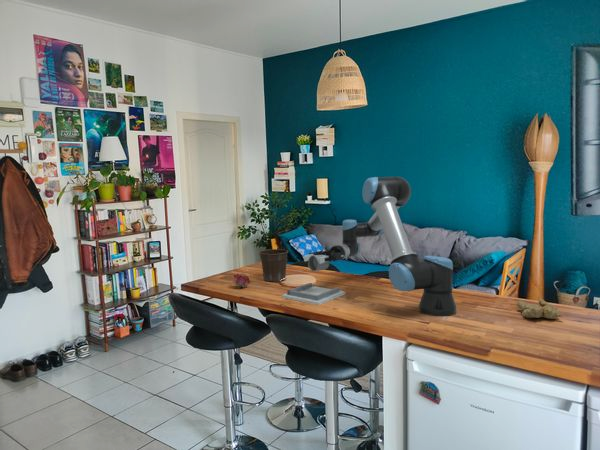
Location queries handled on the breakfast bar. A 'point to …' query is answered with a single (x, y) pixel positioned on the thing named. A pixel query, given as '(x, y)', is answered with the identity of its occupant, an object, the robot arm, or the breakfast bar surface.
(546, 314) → the ginger root
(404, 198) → the robot arm
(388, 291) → the breakfast bar surface
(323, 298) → the tray
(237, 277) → the flower
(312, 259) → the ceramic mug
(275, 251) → the plant pot
